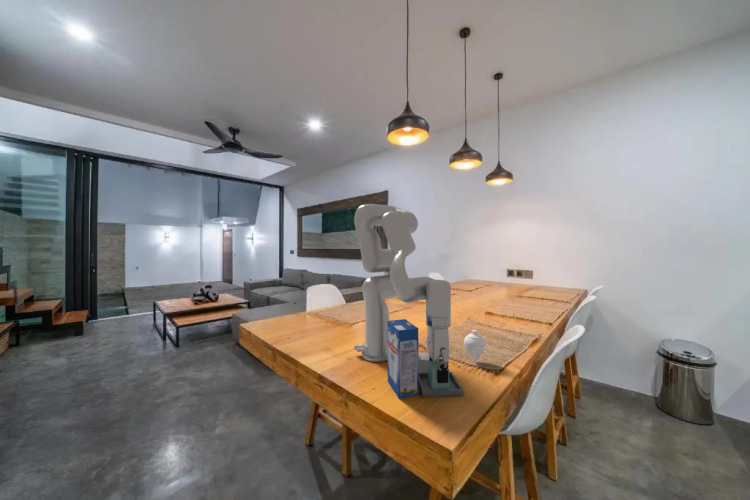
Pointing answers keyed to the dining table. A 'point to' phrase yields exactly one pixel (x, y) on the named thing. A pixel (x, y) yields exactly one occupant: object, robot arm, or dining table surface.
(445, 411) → the dining table surface
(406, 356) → the milk carton
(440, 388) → the teal block
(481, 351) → the spinning top
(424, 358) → the light grey block
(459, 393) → the tray
